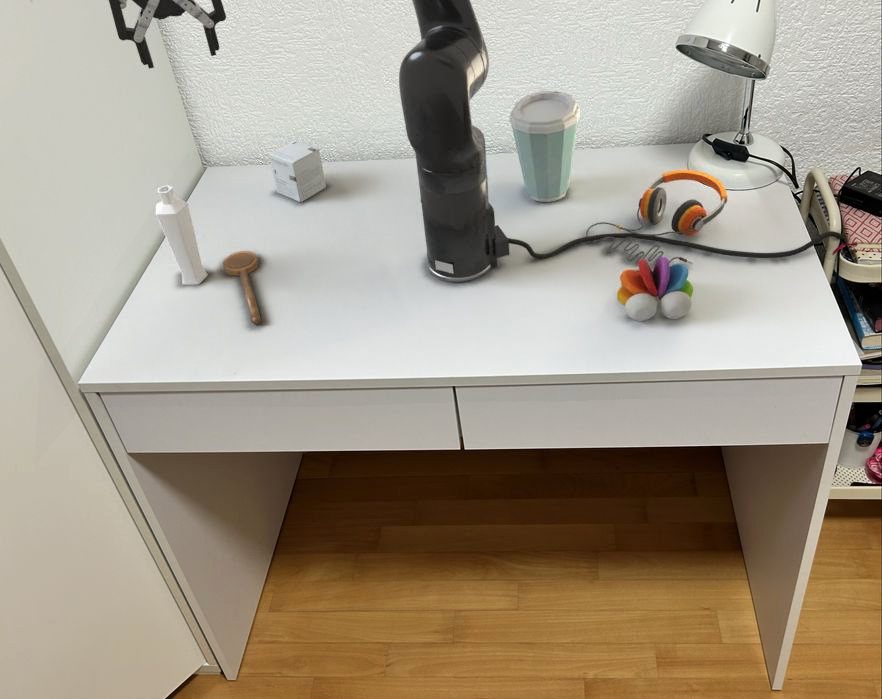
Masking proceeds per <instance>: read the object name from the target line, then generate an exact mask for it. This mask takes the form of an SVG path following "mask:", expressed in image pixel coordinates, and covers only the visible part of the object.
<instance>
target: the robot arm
mask: <svg viewBox="0 0 882 699" xmlns="http://www.w3.org/2000/svg"><path fill="white" fill-rule="evenodd" d="M131 1H132V2H133V3H134V4H136V6H138V7H139V8H140V10H139V11H138V14H137V18H136V21H135V24H134V25H133V27H128V26H127V25H126V20H125V17H124V13H123V9H126V7H127V2H128V0H108V3H109V6H110V11H111V14H112V19H113V22H114V26H115V29H116V30H115V31H116V33H117V36H118V39H119V40H121V41H126V40H127V41H131V42H133V43H134V44H135V47H136V51H137V53H138V56H139V59H140V63H141V64H142V65H143V66H147V67H148V69H154V68H155V65H154V61H153V58H152V55H151V52H150V48H149V45H148V41H147V39H146V33H147V30H148V29H149V28H150V26H151V25H150V24H151V23H152V20H153V19H158V21H160V20H165V19H167V18H169V17H181V16H183V14H184V13H185V12H186V13H188V14H189V15H190V16H191V17H192V18H194V19H195V20H197V21H198V22H199V23H201V24H202V28H203V30H204V35H205V38H206V42H207V47H208V49H209V54H210V56H211V57H213V56H217V51H220V43H219V39H218V35H217V32H216V25H217V24H219V23H220V22H225V21H226V19H227V15H226V12H225V8H224V4H223V1H222V0H210V1H211V5H212V8H213V10H212V11H210V12H208V11H206V10H205V9H204V8H203V7H202V6H200V4H199V3H198V2H197V1H195V0H131ZM411 2H412V5H413V8H414V12H415V16H416V20H417V24H418V28H419V29H418V30H419V33H420V41H419V42H418V43H417V44H416V45H415V46H413V47H412V48H411V49H410V50H409V51H408V52H407V53H406V55H404V57H403V59H402V61H401V63H400V67H399V71H398V89H399V94H400V95H399V96H400V104H401V108H402V109H401V110H402V114H403V120H404V126H405V130H406V131H405V132H406V136H407V140H408V142H409V144H410V146H411V148H412V149H413V151H414V153H415V161H416V162H415V163H416V169H417V177H418V186H419V194H420V204H421V212H422V220H423V229H424V230H423V231H424V237H425V246H426V258H427V268H428V271H429V272H430V274H431V275H432V276H434V277H435V278H437V279H439V280H442V281H445V282H449V283H464V282H470V281H474V280H477V279H479V278H481V277H483V276H484V275H486V274H487V273H489V271H490V270H492V269H494V268H496V267H498V259H500V258H504V257H506V256H510V245H516V246H519V247H522V248H524V249H526V251H527V253H528V254H529V255H530V257H532V258H534V259H536V260H546V259H550V258H553V257H555V256H557V255H559V254H562V253H564V251H567V250H568V249H570V248H572V247H574V246H576V245H581V244H583V243H588V242H589V243H590V241H595V240H599V239H602V238H605V237H614V238H615V239H625V238H627V237H632V238H633V239H635V240H636V239H637V240H646V241H651V242H652V241H654V242H658V243H663V244H668V245H674V246H679V247H683V248H689V249H694V250H697V251H698V250H699V251H703V252H708V253H711V254H712V253H713V254H717V255H722V256H731V257H737V258H738V257H739V258H750V259H781V258H787V257H792V256H795V255H799V254H801V253H803V252H805V251H807V250H809V249H810V248H812V247H814V246H815V245H816V244H818V243H819V242H821V241H822V240H824V239H827V238H830V237H831V238H832V237H833V238H836V239H837V240H844V239H845V237H844V236H843V234H841V233H840V232H838V231H834V230H833V231H832V230H829V231H826V232H823V233H821V234H819V235H817V236H815V238H813V239H811V240H810V241H808V242H807V243H805V244H803V245H801V246H799V247H797V248H795V249H791V250H786V251H778V252H776V251H775V252H753V251H742V250H741V251H740V250H732V249H726V248H725V249H724V248H718V247H713V246H708V245H704V244H699V243H695V242H690V241H686V240H679V239H673V238H669V237H663V236H660V235H659V236H644V235H638V234H633V233H630V232H614V233H613V232H612V233H611V232H610V233H602V234H595V235H587V236H588V237H586V236H583V237H580V238H576V239H573V240H571V241H569V242H567V243H565V244H563V245H561V246H560V247H559V248H557V249H554V250H553V251H550V252H548V253H537V252H535V250H534V249H533V248H532V246H531V245H530V244H529V243H527V242H525V241H523V240H521V239H516V238H511V237H508V236H507V235H506V234H505V232H504V231H503V230H502V229H501V227H500V226H499V225H498V224H497V225H496V217H495V209H494V206H492V204H491V203H490V200H489V184H488V182H489V181H488V168H487V167H488V166H487V149H486V138H485V135H484V133H483V132H482V130H481V128H480V129H479V127H477V126H475V125H473V121H472V112H471V100H472V99H473V97H474V96H476V94H477V93H478V92H479V91H480V90H481V88H482V87H483V86H484V84H485V82H486V80H487V78H488V74H489V68H490V58H489V52H488V49H487V48H488V47H487V45H486V42H485V39H484V35H483V33H482V30H481V27H480V24H479V22H478V18H477V15H476V13H475V11H474V7H473V5H472V2H471V0H411ZM609 239H610V240H613V239H612V238H608V239H607V240H609Z"/></svg>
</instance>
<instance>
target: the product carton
mask: <svg viewBox="0 0 882 699" xmlns="http://www.w3.org/2000/svg"><path fill="white" fill-rule="evenodd" d="M268 155H269V160H270V164H271V169H272V174H273V179H274V183H275V188H276V192H277V193H278V194H280V195H283V196H285V197H287V198H290V199H292V200H294V201H296V202H298V203H302V202H304V201H306V200H308V199H309V198H311V197H312V196H315V195H316V194H317V193H320V192H321V191H323V190H325V189H326V188H327V185H326V178H325V172H324V167H323V163H322V162H323V161H322V157H321V151H320V148H317V147H315V146H312V145H311V144H309V143H304V142H302V141H299V140H296V139H294V140H293V141H291V142H289V143H287V144H286V145H283V146H282V147H280V148H277V149H275V150H273V151H272V152H270V153H269V154H268Z"/></svg>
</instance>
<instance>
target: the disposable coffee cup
mask: <svg viewBox="0 0 882 699" xmlns="http://www.w3.org/2000/svg"><path fill="white" fill-rule="evenodd" d="M580 118H581V110H580V107H579V106H578V105H577V101H576V100H575V99H574V97H573V96H572V95H571V94H569V93H566V92H562V91H557V90H541V91H537V92H533V93H530V94H526V96H524V97H522V98H521V99H519V100H517V102H515V104H514V106H513V107H512V110H511V111H510V114H509V118H508V119H509V120H508V122H509V123H510V125H511V129H512V133H513V138H514V142H515V147H516V152H517V157H518V160H519V165H520V170H521V174H522V180H523V183H524V187H525V191H526V192H527V194H528V196H529V197H530V199H532V200H534V201H537V202H541V203H542V202H544V203H550V202H554V201H555V202H556V201H559V200H561V199H562V198H564V197H565V196H566V195H567V192H568V191H569V187H570V183H571V181H570V180H571V174H572V168H573V161H574V153H575V147H576V140H577V131H578V124H579V121H580Z"/></svg>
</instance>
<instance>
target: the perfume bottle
mask: <svg viewBox="0 0 882 699" xmlns="http://www.w3.org/2000/svg"><path fill="white" fill-rule="evenodd" d="M173 189H174V187H173V186H171V185H169V184H165V185H162V186H160V187H158V188H157V194H158V195H159V198H160V201H159V202H157V203H156V205H155V215H156V218H157V220H158V222H159V225H160V227H161V230H162V231H163V234H164V237H165V238H166V241H167V243H168V245H169V248H170V251H171V253H172V255H173V257H174V259H175V262H176V264H177V266H178V269H179V271H180V273H181V281H182V285H183V286H185V285H186V286H187V285H188V286H189V285H191V286H192V285H200V284H201V283H202V282H203V281H204V280H205V279H206V278H207V277H209V276H208V275H209V274H208V273H207V271H206V270H205V268H204V267H203V264H202V259H201V255H200V251H199V246H198V242H197V237H196V233H195V229H194V224H193V220H192V215H191V211H190V207H189V202H187V201H186V200H183V199H180V198H179V197H176V196H175V194H174V190H173Z"/></svg>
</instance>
